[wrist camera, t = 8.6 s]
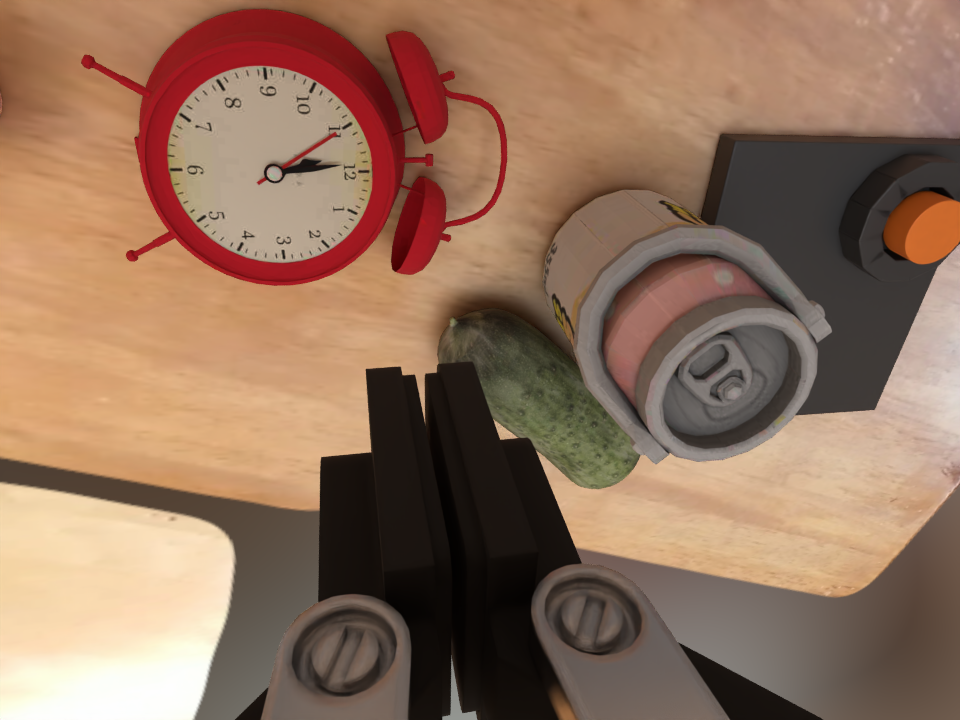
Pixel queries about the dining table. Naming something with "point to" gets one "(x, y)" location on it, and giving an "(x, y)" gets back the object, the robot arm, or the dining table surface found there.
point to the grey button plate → (837, 240)
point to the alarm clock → (289, 148)
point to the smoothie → (0, 103)
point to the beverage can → (681, 326)
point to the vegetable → (540, 396)
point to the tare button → (923, 227)
